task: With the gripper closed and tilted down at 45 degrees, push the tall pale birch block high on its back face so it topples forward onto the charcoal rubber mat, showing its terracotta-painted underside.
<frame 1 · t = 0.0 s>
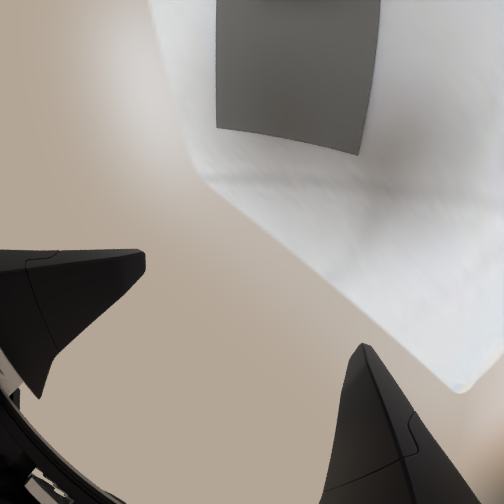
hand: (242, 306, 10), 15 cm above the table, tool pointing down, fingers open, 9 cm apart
mat: (292, 30, 14), on the table
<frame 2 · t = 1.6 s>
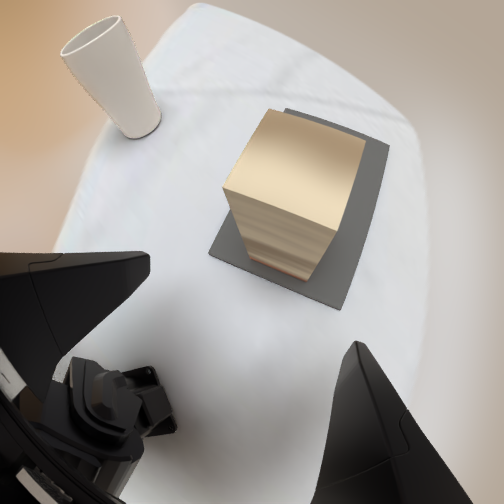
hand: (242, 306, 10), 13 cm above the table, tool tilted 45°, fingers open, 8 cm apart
block: (289, 243, 23), resting on mat
drinking glass: (143, 125, 29), on the table
mat: (311, 192, 24), on the table
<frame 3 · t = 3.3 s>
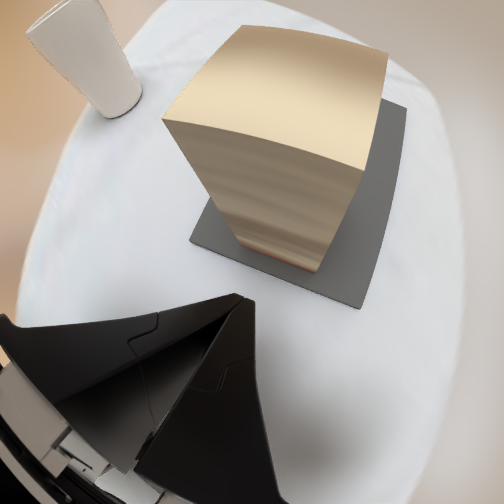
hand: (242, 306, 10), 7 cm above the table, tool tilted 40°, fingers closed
block: (292, 224, 17), resting on mat
drinking glass: (123, 103, 24), on the table
mat: (317, 161, 19), on the table
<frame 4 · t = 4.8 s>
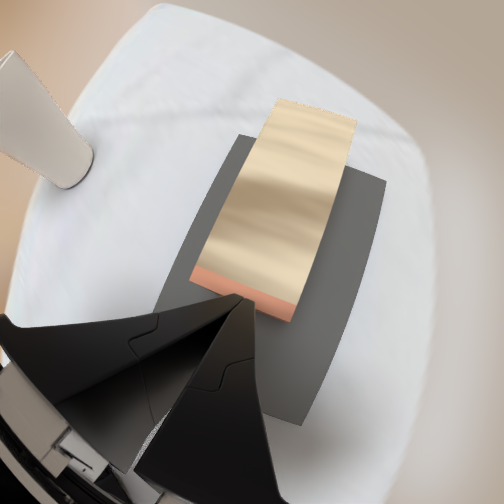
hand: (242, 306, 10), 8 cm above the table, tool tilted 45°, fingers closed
block: (244, 305, 14), point 3 cm above the table, tilted 90°, touching mat
drinking glass: (76, 168, 23), on the table
mat: (268, 266, 18), on the table
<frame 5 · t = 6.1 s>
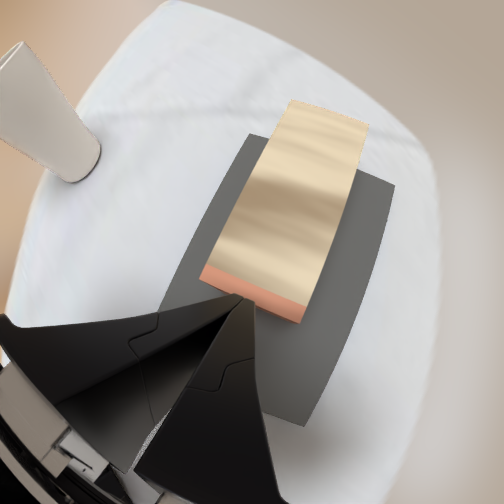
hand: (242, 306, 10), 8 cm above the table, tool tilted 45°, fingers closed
block: (253, 305, 14), point 3 cm above the table, tilted 90°, touching mat
drinking glass: (83, 162, 23), on the table
mat: (276, 266, 18), on the table
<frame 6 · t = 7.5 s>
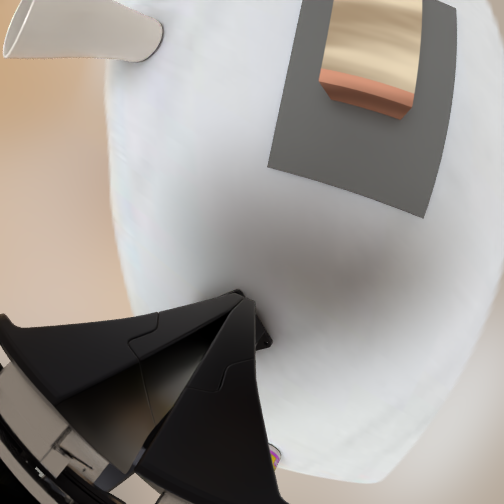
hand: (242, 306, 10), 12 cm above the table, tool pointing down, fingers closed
block: (365, 101, 13), point 3 cm above the table, tilted 90°, touching mat
drinking glass: (147, 41, 20), on the table
mat: (372, 73, 14), on the table
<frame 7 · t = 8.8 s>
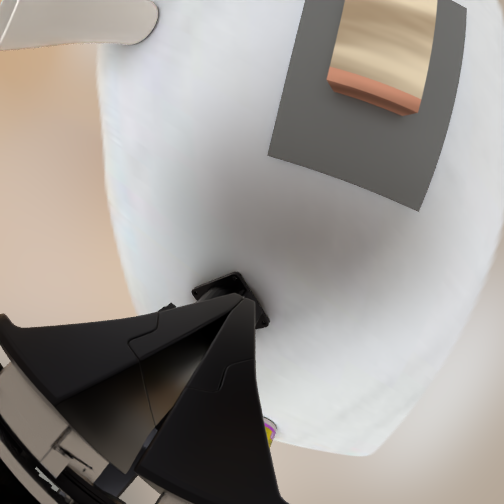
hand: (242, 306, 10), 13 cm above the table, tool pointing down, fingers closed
block: (370, 99, 13), point 3 cm above the table, tilted 90°, touching mat
drinking glass: (141, 23, 18), on the table
mat: (377, 67, 14), on the table
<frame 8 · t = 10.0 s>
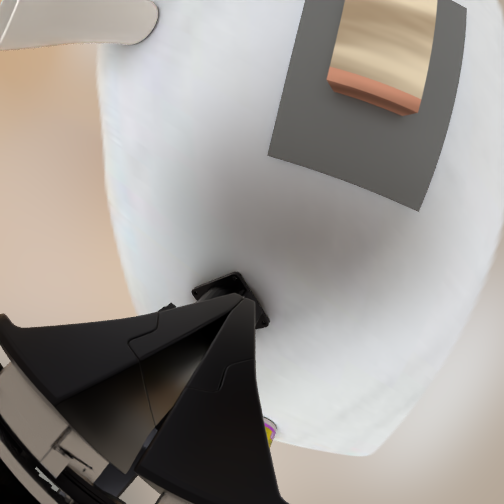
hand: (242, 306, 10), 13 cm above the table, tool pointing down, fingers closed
block: (370, 99, 13), point 3 cm above the table, tilted 90°, touching mat
drinking glass: (141, 23, 18), on the table
mat: (377, 67, 14), on the table
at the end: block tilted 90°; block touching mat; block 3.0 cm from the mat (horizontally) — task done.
